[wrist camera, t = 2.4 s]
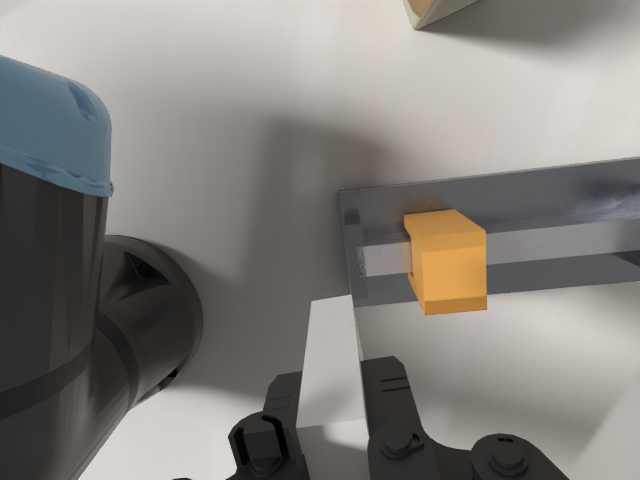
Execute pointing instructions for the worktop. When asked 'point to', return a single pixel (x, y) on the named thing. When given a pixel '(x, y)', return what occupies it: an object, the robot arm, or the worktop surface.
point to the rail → (500, 208)
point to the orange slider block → (447, 262)
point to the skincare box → (432, 10)
